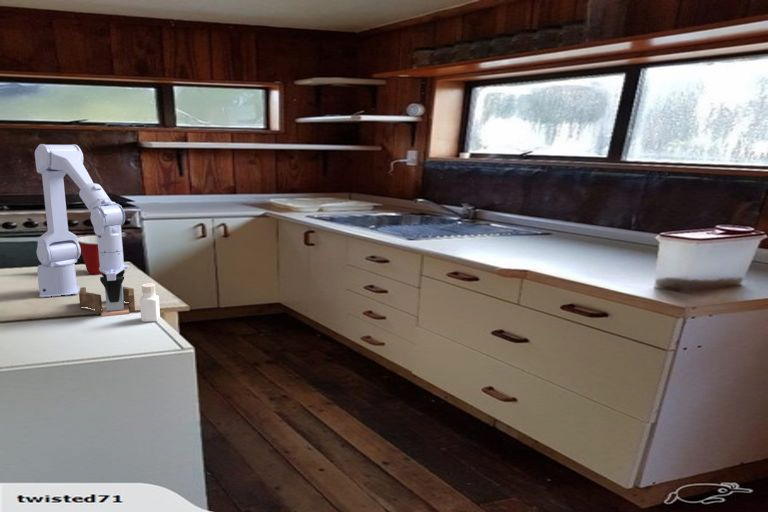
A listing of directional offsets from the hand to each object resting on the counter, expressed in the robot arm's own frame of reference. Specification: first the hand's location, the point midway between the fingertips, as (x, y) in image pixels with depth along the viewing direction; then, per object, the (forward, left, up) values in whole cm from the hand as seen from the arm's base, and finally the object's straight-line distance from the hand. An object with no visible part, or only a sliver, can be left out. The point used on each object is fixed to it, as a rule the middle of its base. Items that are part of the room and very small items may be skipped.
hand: (114, 299), depth 139 cm
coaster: (0, -1, -3) cm, 3 cm away
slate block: (0, 0, -2) cm, 3 cm away
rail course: (-2, +4, -3) cm, 6 cm away
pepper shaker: (+9, -10, -3) cm, 14 cm away
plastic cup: (-6, +43, -3) cm, 44 cm away
